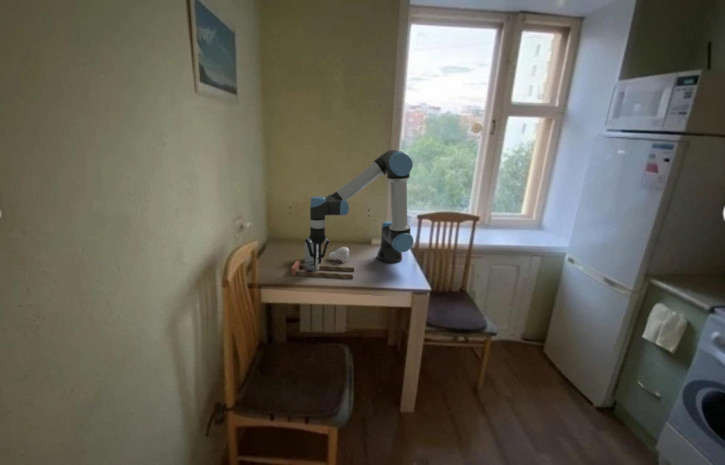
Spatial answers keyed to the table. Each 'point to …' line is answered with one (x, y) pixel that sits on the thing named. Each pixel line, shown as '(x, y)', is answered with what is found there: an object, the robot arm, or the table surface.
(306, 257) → the supplement box
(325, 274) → the guide rails
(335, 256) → the white figurine
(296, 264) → the stop block
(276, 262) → the table surface
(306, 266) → the cylinder
